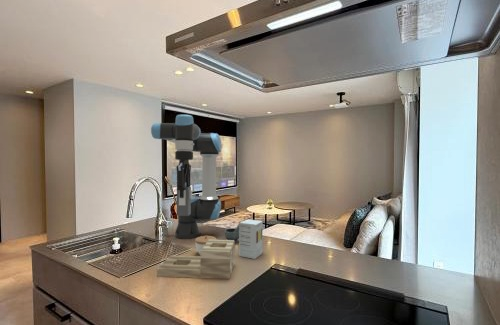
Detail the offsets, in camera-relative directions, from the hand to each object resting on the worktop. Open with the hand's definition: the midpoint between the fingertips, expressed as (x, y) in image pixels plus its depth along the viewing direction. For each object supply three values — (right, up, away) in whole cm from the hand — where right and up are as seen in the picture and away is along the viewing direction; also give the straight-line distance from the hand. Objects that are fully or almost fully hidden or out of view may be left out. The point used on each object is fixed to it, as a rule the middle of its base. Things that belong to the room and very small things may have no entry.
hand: (183, 204), depth 112 cm
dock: (+6, -29, 0) cm, 29 cm away
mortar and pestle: (+19, -29, +38) cm, 51 cm away
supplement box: (+29, -29, +18) cm, 45 cm away
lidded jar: (+6, -29, +19) cm, 35 cm away
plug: (0, -5, 0) cm, 5 cm away
